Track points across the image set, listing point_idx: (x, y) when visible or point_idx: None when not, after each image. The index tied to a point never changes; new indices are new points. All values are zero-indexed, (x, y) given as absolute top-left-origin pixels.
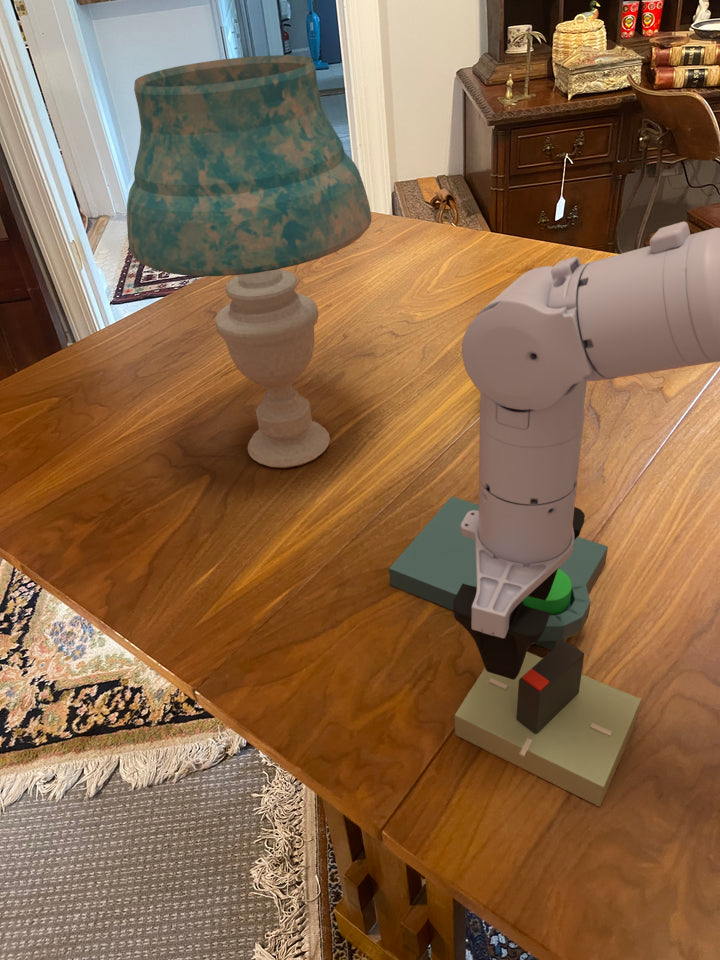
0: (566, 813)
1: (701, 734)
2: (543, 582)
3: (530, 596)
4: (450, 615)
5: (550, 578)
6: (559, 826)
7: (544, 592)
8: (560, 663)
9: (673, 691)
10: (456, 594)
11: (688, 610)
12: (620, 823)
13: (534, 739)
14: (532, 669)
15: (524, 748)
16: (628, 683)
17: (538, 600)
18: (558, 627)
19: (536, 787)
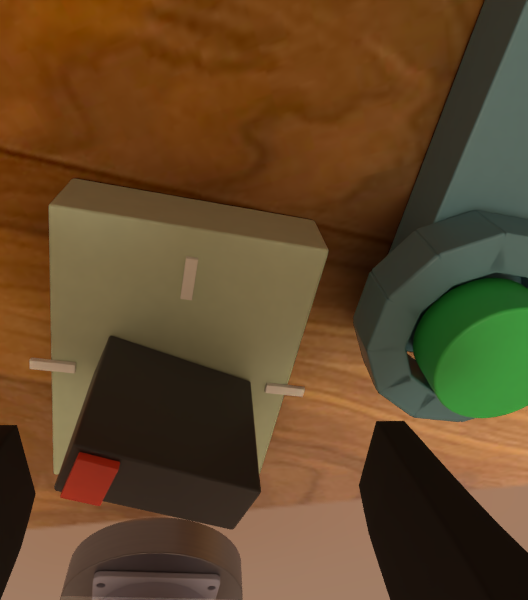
0: (32, 391)
1: (256, 500)
2: (388, 550)
3: (369, 451)
4: (447, 44)
5: (393, 592)
6: (3, 387)
7: (369, 514)
8: (178, 502)
9: (322, 469)
10: (500, 67)
11: (493, 466)
12: None
13: (82, 373)
14: (117, 471)
15: (47, 365)
16: (321, 422)
17: (434, 361)
18: (374, 381)
19: (50, 345)
